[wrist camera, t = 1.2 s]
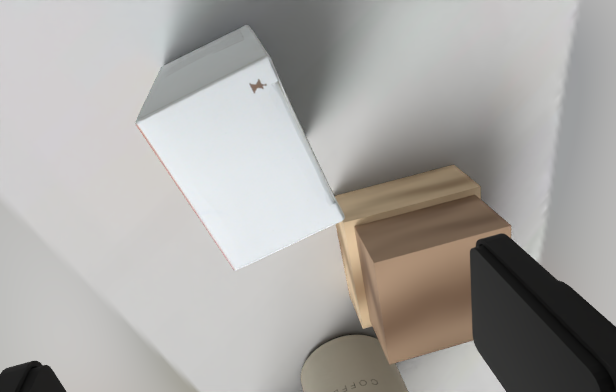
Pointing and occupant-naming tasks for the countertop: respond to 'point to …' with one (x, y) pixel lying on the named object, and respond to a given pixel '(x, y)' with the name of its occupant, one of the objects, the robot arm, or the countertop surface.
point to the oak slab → (390, 203)
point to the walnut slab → (423, 274)
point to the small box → (237, 149)
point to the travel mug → (351, 367)
